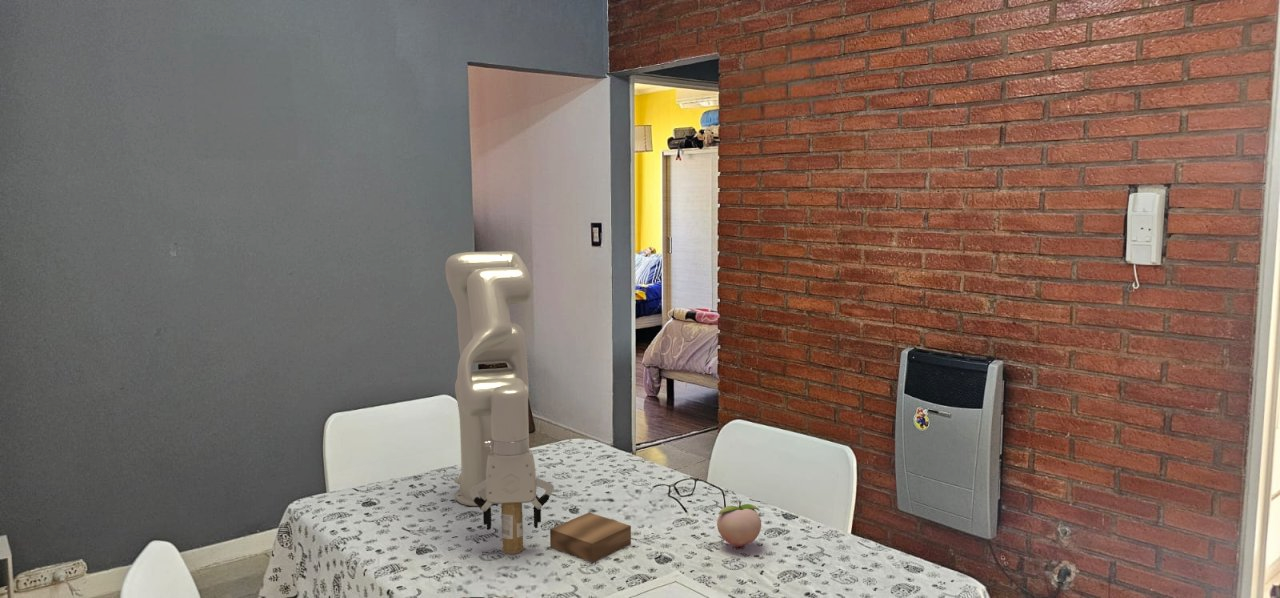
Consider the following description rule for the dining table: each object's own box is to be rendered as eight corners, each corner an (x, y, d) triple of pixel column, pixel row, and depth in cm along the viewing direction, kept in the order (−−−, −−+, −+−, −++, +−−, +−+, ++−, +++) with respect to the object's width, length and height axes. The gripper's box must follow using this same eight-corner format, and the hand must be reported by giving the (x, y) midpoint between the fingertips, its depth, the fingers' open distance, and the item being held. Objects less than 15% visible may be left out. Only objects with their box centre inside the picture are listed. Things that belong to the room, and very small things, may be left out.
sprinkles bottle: (527, 551, 176) (526, 488, 174) (507, 556, 173) (505, 493, 171) (517, 543, 179) (516, 482, 178) (498, 548, 177) (496, 486, 175)
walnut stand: (550, 547, 178) (550, 528, 177) (589, 529, 187) (589, 512, 186) (592, 562, 170) (592, 543, 170) (630, 543, 179) (630, 525, 179)
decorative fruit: (732, 559, 171) (733, 512, 170) (710, 545, 179) (711, 499, 177) (770, 550, 176) (771, 504, 174) (747, 536, 183) (748, 492, 182)
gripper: (465, 452, 169) (468, 535, 171) (552, 449, 170) (554, 531, 172) (469, 442, 176) (472, 521, 178) (553, 439, 178) (554, 518, 180)
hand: (512, 526), depth 175 cm, fingers open, 9 cm apart
